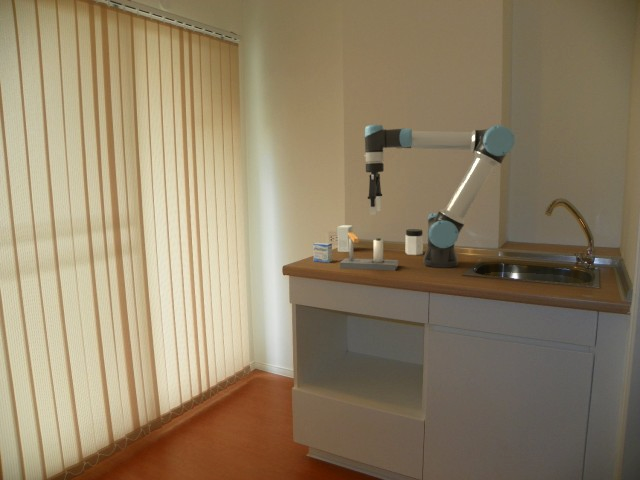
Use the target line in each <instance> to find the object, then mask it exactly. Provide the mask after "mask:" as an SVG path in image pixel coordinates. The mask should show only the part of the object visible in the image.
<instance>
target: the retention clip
mask: <svg viewBox="0 0 640 480" xmlns="http://www.w3.org/2000/svg"><path fill="white" fill-rule="evenodd" d="M348 237H350V238H351V239H352V241H353V244H354V243H359V237H358V236H356V234H355V232H353V233H348Z"/></svg>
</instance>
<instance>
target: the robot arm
mask: <svg viewBox="0 0 640 480" xmlns="http://www.w3.org/2000/svg"><path fill="white" fill-rule="evenodd" d="M514 134H515V133H513V130H511V128H509V127H507V126H505V125H501V124H498V125H497V124H496V125H493V126H491V127H490V128H486V129H473V130H472V131H435V130H434V131H431V130H430V131H429V130H428V131H427V130H420V131H419V130H412V129H411V128H405V127H404V128H393V129H384V127H383V125H382V124H371V125H370V124H369V125H366V126H365V128H364V151H365V154H364V155H363V157H364V158H365V172H366V173H370V174H369V175H368V177H369V181H368V183H369V185H368V196H367V199H368V200H369V215H370V216H371V215H373V216H374V215H375V216H376V215H377V213H378V212H381V211H382V201H381V199H382V198H381V197H382V196H383V193H382V190H381V175H380V173H382V172H384V167H385V165H384V157H385V156H384V148H385V149H387V148H390V149H391V148H396V149H420V150H426V149H427V150H450V151H451V150H452V151H454V150H455V151H456V150H457V151H470V152H471V153H472V154H473V153H474V158H473V160H472V162H471V164H470V165H469V166H468V169H467V171H465V173H464V176H463V177H462V178H461V180H460V182H459V184H458V186H457V187H456V189H455V191H454V192H453V194H452V196H451V198H450V200H449V201H448V203H447V205H446V206H445V208H442V209H439V211H438V213H430V214H428V218H427V248H426V250H425V254H424V256H423V260H422V261H423V265H425V266H426V267H431V268H442V269H443V268H445V269H446V268H454V267H457V266H459V265H458V264H459V259H458V255H457V251H456V250H455V243H457V241H458V238H459V235H460V232H461V231H462V229H463V227H464V226H465V220H464V219H465V217H466V215H467V214H468V212H469V211H470V208H471V207H472V205H473V204H474V202H475V200H476V198H477V197H478V195H479V193H480V192H481V190H482V189H483V187H484V185H485V183H486V182H487V180H488V179H489V177H490V175H491V174H492V172H493V170H494V168H496V167H497V166H501V165H502V162H503V161H504V160H505V158H506V156H507V154H509V153H510V152H511V151H512V149H513V148H514V145H515V142H516V141H515V140H516V138H515V135H514Z"/></svg>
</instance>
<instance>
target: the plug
mask: <svg viewBox="0 0 640 480" xmlns="http://www.w3.org/2000/svg"><path fill="white" fill-rule="evenodd" d="M372 243H373V248H372V249H373V252H372V253H373V258H372V259H373V263H383V260H384V239H381V238H379V237H378V238H377V237H376V238H375V239H373V241H372Z"/></svg>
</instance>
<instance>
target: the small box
mask: <svg viewBox="0 0 640 480" xmlns="http://www.w3.org/2000/svg"><path fill="white" fill-rule="evenodd" d="M353 226H354V225H350V224H345V225H344V224H342V225H339V226H337V228H336V229H337V230H336V231H337V236H336V237H337V252H338V253H339V252H340V253H341V252H342V253H349V237H348V233H354V229H353V228H354V227H353Z"/></svg>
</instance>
